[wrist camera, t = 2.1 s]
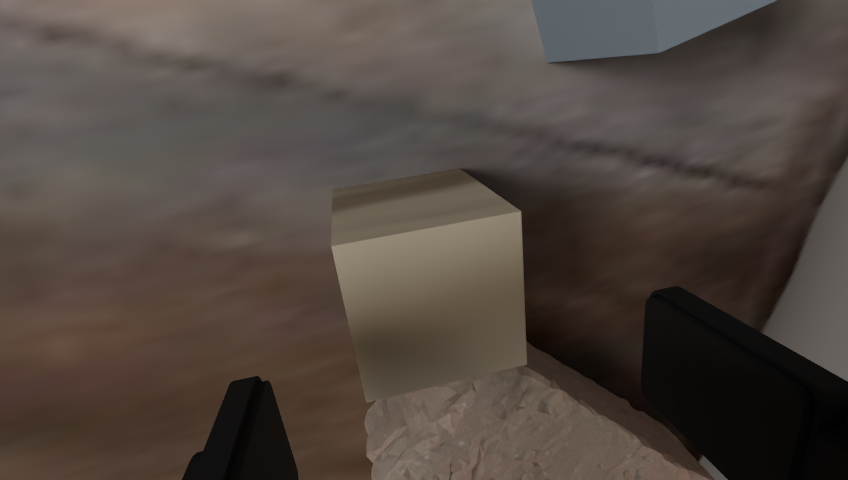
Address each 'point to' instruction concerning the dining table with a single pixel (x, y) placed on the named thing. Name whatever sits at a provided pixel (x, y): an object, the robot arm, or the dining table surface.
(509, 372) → the brick
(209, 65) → the dining table surface
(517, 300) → the beech block
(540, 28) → the slate block
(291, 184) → the dining table surface
